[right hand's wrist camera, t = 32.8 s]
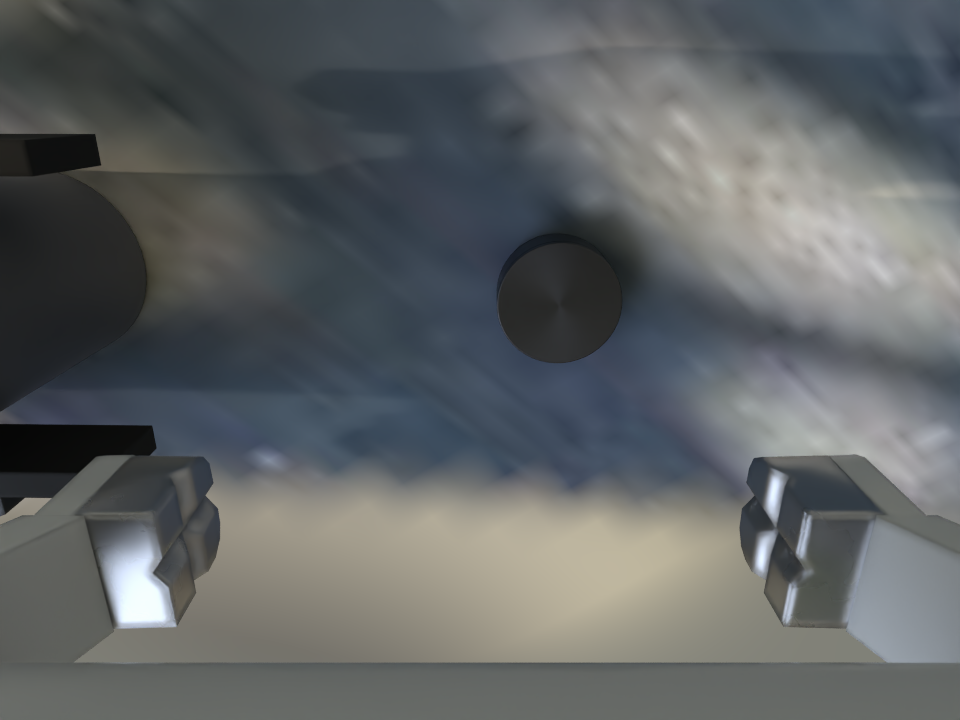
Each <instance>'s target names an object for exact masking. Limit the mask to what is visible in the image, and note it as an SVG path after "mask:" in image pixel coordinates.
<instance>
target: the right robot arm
mask: <svg viewBox="0 0 960 720" xmlns="http://www.w3.org/2000/svg"><path fill="white" fill-rule="evenodd" d="M212 484H213V479H212V474H211V469H210V464H209V463H208V462H207V460H206V459H205V458H204V457H191V456H135V455H106V456H98V457H95V458H94V459H93V460H92V461H91V462H90V463H89V464H88V465H87V466H86V467H85V468H84V469H83V470H82V471H80V472H79V473H78V474H77V475H76V476H75V477H74V478H73V479H72V480H71V481H70V482H69V483H68V484H67V485H66V486H64V487H63V488H62V489H61V490H60V491H59V492H58V493H57V494H56V495H55V496H54V497H53V498H52V499H51V500H50V501H48V502H47V503H46V504H45V505H44V506H43V507H42V508H41V509H40V510H39V511H38V512H37V513H36V514H35V515H22V516H20V517H18V518H15V519H13V520H10V521H8V522H6V523H3V524H1V525H0V720H960V525H959V524H957V523H954V522H952V521H950V520H947V519H945V518H942V517H940V516H938V515H925V514H924V513H923V512H922V511H921V510H920V509H919V508H918V507H917V506H916V505H915V504H914V503H913V502H912V501H911V500H909V499H908V498H907V497H906V496H905V495H904V494H903V493H902V492H901V491H900V490H899V489H898V488H897V487H896V486H895V485H894V484H892V483H891V482H890V481H889V480H888V479H887V478H886V477H885V476H884V475H883V474H882V473H881V472H880V471H879V470H878V469H877V468H875V467H874V466H873V465H872V464H871V463H870V462H869V461H868V460H867V459H866V458H865V457H862V456H858V455H836V456H789V457H760V458H754V459H753V461H752V464H751V466H750V468H749V473H748V478H747V484H748V486H749V487H750V489H751V491H752V492H753V494H754V495H755V496H754V497H753V498H752V499H751V500H750V501H749V502H748V503H747V504H746V505H745V506H744V507H743V508H742V513H741V521H740V538H741V547H742V550H743V554H744V557H745V560H746V562H747V563H748V565H749V567H750V569H751V571H752V572H754V573H755V574H757V575H758V576H760V577H762V578H763V579H765V580H766V584H765V589H764V594H765V595H766V597H767V599H768V601H769V602H770V604H771V606H772V608H773V609H774V611H775V613H776V615H777V616H778V618H779V620H780V621H781V623H782V625H783V627H808V628H845V629H846V632H848V633H849V634H850V635H852V636H853V637H854V638H856V639H857V640H858V641H860V642H861V643H862V644H863V645H865V646H866V647H867V648H869V649H870V650H871V651H873V652H874V653H875V654H877V655H878V656H879V657H881V658H882V659H883V660H885V661H886V662H887V663H73V662H74V661H76V660H77V659H78V658H80V657H81V656H82V655H84V654H85V653H86V652H88V651H89V650H90V649H92V648H93V647H94V646H95V645H97V644H98V643H99V642H101V641H102V640H103V639H105V638H106V637H107V636H109V635H110V634H111V633H113V632H114V630H113V629H114V628H150V627H177V625H178V623H179V622H180V620H181V618H182V616H183V615H184V613H185V611H186V609H187V608H188V606H189V604H190V602H191V601H192V599H193V597H194V595H195V594H196V590H195V584H194V580H195V579H197V578H198V577H200V576H201V575H203V574H205V573H206V572H208V571H209V569H210V567H211V565H212V563H213V561H214V559H215V558H216V553H217V549H218V545H219V541H220V519H219V513H218V508H217V507H216V506H215V505H214V504H213V503H212V502H211V501H210V500H209V499H208V498H207V497H206V496H205V495H206V494H207V492H208V491H209V489H210V487H211V486H212Z"/></svg>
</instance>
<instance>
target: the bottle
mask: <svg viewBox="0 0 960 720" xmlns="http://www.w3.org/2000/svg"><path fill="white" fill-rule="evenodd" d="M145 290H146V271H145V264H144V260H143V256H142V253H141V249H140V247H139V245H138V242H137V240H136V238H135V236H134V234H133V232H132V230H131V229H130V227H129V225H128V224H127V223H126V221H125V220H124V218H123V217H122V216H121V214H120V213H119V212H118V211H117V210H116V209H115V208H114V207H113V205H112V204H110V203H109V202H108V201H107V200H106V199H105V198H104V197H103V196H101V195H100V194H99V193H97V192H96V191H95V190H93V189H92V188H90V187H88V186H87V185H85V184H83V183H82V182H80V181H78V180H76V179H73V178H71V177H69V176H66V175H63V174H60V173H51V174H45V175H39V176H33V177H7V176H0V411H2V410H4V409H5V408H7V407H8V406H10V405H12V404H13V403H15V402H16V401H18V400H20V399H21V398H23V397H25V396H26V395H28V394H29V393H31V392H33V391H34V390H36V389H37V388H39V387H41V386H42V385H44V384H45V383H47V382H49V381H50V380H52V379H54V378H55V377H57V376H58V375H60V374H62V373H63V372H65V371H66V370H68V369H70V368H71V367H73V366H74V365H76V364H78V363H79V362H81V361H83V360H84V359H86V358H87V357H89V356H91V355H92V354H94V353H95V352H97V351H99V350H100V349H102V348H104V347H105V346H107V345H108V344H110V343H112V342H113V341H115V340H116V339H118V338H119V337H120V336H122V335H123V334H124V333H125V332H126V331H127V330H128V329H129V328H130V327H131V326H132V324H133V323H134V321H135V320H136V318H137V317H138V314H139V312H140V310H141V308H142V305H143V301H144V297H145Z"/></svg>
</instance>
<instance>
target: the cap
mask: <svg viewBox="0 0 960 720" xmlns="http://www.w3.org/2000/svg"><path fill="white" fill-rule="evenodd" d="M621 309H622V292H621V288H620V284H619V281H618V278H617V276H616V274H615V272H614V271H613V269H612V268H611V266H610V265H609V263H608V262H607V260H606V259H605V258H604V256H603V255H602V254H601V253H600V252H599V251H598V250H597V249H596V248H595V247H594V246H593V245H591V244H590V243H588V242H587V241H585V240H583V239H581V238H578V237H575V236H571V235H566V234H549V235H543V236H540V237H537V238H534V239H532V240H530V241H528V242H526V243H525V244H523V245H522V246H520V247H519V248H518V249H516V250H515V251H514V253H513V254H512V255H511V256H510V257H509V258H508V260H507V261H506V263H505V264H504V266H503V268H502V270H501V273H500V275H499V279H498V284H497V313H498V319H499V322H500V325H501V327H502V330H503V332H504V334H505V335H506V337H507V338H508V340H509V341H510V342H511V343H512V344H513V345H514V346H515V347H516V348H517V349H518V350H519V351H521V352H522V353H524V354H525V355H527V356H529V357H531V358H534V359H536V360H539V361H544V362H549V363H565V362H571V361H575V360H579V359H581V358H584V357H586V356H588V355H590V354H591V353H593V352H594V351H596V350H597V349H599V348H600V347H601V346H602V345H603V344H604V343H605V342H606V341H607V340H608V339H609V337H610V336H611V334H612V333H613V331H614V330H615V328H616V326H617V324H618V321H619V318H620V314H621Z"/></svg>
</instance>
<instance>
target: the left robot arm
mask: <svg viewBox="0 0 960 720" xmlns="http://www.w3.org/2000/svg"><path fill="white" fill-rule="evenodd" d="M100 165H101V162H100V157H99V152H98V147H97V142H96V137H95V134H0V176H7V177H33V176H39V175H45V174H51V173H58V172H64V171H70V170H76V169H82V168H88V167H94V166H100ZM155 449H156V443H155V438H154V433H153V428H152V426H139V425H38V424H0V516H2V515H5V514H6V513H7V512H9V511H10V510H11V509H12V508H13V507H15V506H16V505H17V504H18V503H19V502H20V501H22V500H23V499H24V498H53V497H54V496H55V495H56V494H57V493H58V492H59V491H60V490H61V489H62V488H63V487H64V486H66V485H67V484H68V483H69V482H70V481H71V480H72V479H73V478H74V477H75V476H76V475H77V474H78V473H79V472H80V471H82V470H83V469H84V468H85V467H86V466H87V465H88V464H89V463H90V462H91V461H92V460H93V459H94V458H95V457H98V456H106V455H135V456H150V454H151V453H152V452H153V451H154V450H155Z"/></svg>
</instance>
